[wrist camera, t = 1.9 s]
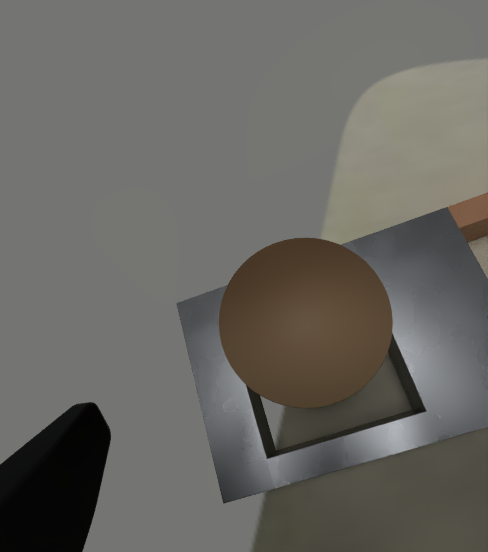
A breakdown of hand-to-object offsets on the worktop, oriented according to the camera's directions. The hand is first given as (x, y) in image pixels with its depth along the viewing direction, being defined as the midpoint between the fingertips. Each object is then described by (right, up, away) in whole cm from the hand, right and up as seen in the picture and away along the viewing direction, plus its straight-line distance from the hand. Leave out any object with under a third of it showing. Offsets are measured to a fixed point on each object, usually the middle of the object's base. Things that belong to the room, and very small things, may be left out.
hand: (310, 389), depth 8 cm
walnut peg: (+2, -2, +10) cm, 10 cm away
